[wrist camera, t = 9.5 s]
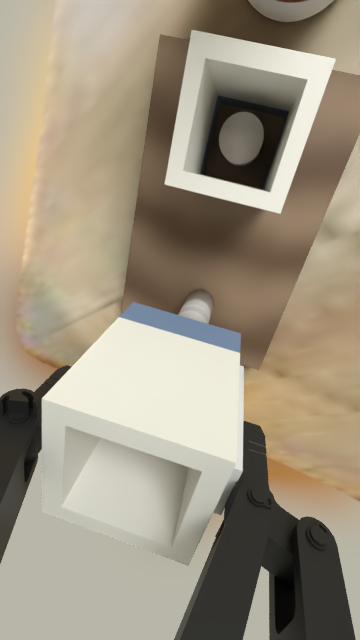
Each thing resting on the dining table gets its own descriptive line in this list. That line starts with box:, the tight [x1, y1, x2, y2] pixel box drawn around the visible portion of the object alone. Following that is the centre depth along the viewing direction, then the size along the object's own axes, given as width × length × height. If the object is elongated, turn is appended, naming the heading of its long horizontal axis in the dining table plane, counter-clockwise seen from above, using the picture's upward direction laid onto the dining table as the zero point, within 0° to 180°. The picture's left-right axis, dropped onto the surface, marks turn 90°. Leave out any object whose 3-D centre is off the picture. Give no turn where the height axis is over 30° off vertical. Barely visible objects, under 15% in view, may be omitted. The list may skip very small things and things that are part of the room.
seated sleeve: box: [165, 30, 336, 214], centre depth 17 cm, size 6×6×8 cm
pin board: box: [121, 35, 360, 370], centre depth 22 cm, size 22×14×7 cm, turn 167°
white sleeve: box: [42, 302, 241, 565], centre depth 13 cm, size 6×6×8 cm
